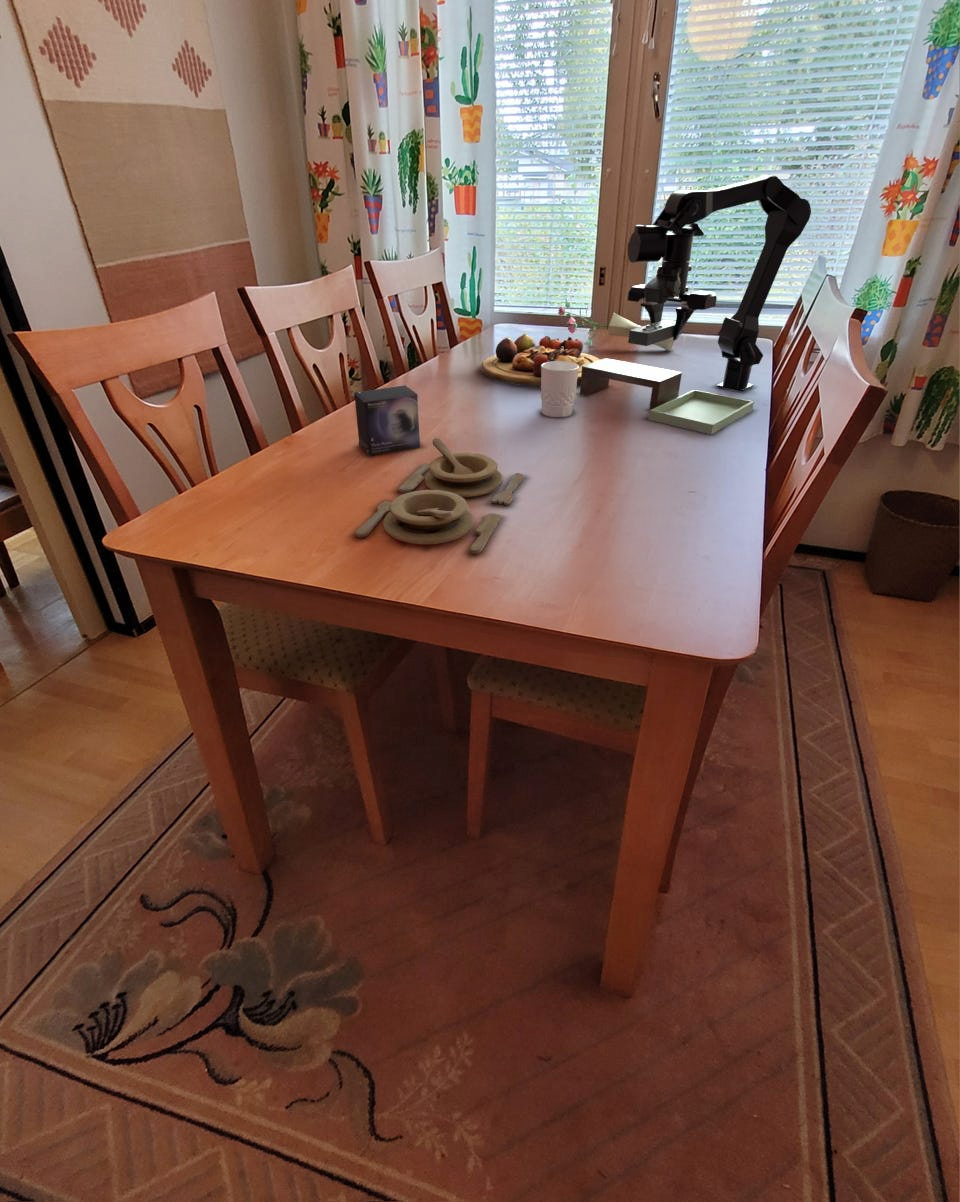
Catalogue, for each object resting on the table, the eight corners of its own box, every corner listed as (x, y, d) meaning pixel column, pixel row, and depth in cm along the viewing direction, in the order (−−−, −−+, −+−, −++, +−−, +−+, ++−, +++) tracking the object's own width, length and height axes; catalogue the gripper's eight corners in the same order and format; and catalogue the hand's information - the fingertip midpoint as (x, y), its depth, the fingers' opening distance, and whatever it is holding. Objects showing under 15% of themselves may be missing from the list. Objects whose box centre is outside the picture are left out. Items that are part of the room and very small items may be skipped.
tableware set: (478, 557, 90) (478, 518, 86) (349, 538, 94) (344, 501, 91) (527, 475, 113) (528, 442, 110) (422, 463, 118) (420, 431, 115)
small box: (369, 457, 121) (363, 401, 115) (358, 446, 125) (352, 391, 119) (421, 447, 125) (418, 392, 119) (409, 437, 129) (405, 384, 123)
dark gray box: (663, 331, 149) (665, 318, 147) (681, 334, 146) (683, 320, 145) (628, 343, 140) (629, 328, 138) (646, 346, 137) (648, 331, 136)
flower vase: (659, 379, 190) (546, 345, 194) (666, 357, 197) (557, 324, 201) (674, 343, 181) (554, 308, 184) (680, 321, 188) (565, 287, 191)
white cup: (579, 409, 143) (583, 363, 138) (568, 420, 137) (572, 372, 132) (546, 405, 146) (548, 359, 140) (533, 415, 140) (535, 368, 135)
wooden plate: (591, 394, 153) (594, 358, 148) (464, 383, 162) (463, 348, 157) (613, 361, 178) (616, 329, 173) (502, 353, 187) (502, 322, 182)
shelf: (602, 385, 159) (605, 358, 155) (677, 401, 148) (682, 372, 144) (579, 394, 153) (581, 366, 149) (655, 411, 142) (659, 381, 138)
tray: (692, 398, 150) (693, 389, 149) (752, 410, 142) (754, 401, 141) (648, 419, 138) (649, 410, 136) (711, 434, 130) (713, 424, 128)
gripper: (617, 261, 138) (610, 338, 147) (698, 268, 127) (685, 351, 136) (644, 256, 145) (636, 330, 153) (724, 262, 134) (710, 342, 143)
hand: (665, 338), depth 146 cm, fingers closed on dark gray box, 4 cm apart
